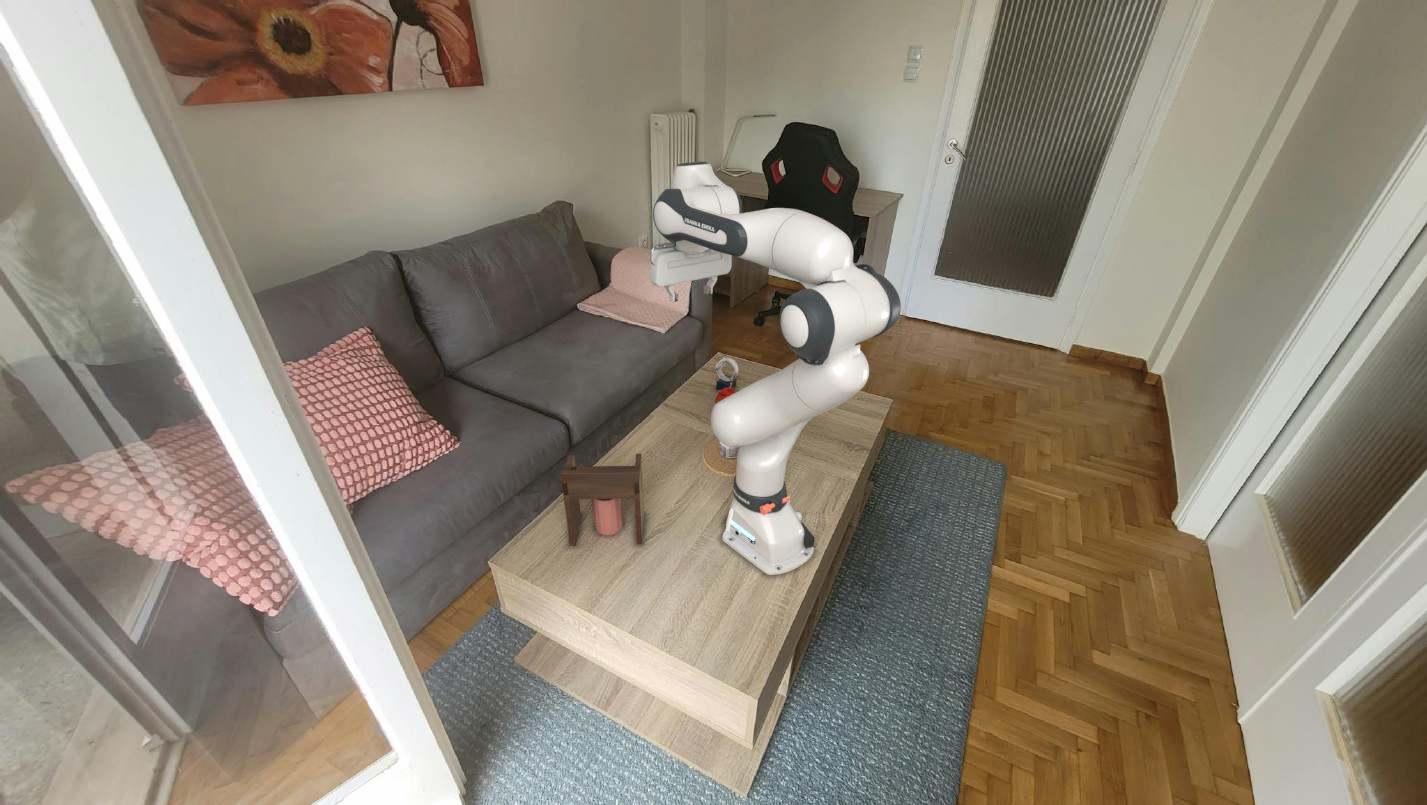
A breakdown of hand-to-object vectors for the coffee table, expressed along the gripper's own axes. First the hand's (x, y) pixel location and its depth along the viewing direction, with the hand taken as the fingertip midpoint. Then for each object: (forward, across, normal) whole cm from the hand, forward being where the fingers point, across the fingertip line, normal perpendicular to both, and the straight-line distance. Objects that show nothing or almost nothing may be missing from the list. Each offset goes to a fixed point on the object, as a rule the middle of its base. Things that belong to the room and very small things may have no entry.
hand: (691, 297), depth 137 cm
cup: (+48, -30, -12) cm, 58 cm away
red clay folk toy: (+48, +22, +14) cm, 55 cm away
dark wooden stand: (+48, -30, -13) cm, 58 cm away
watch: (+48, +31, +27) cm, 63 cm away
